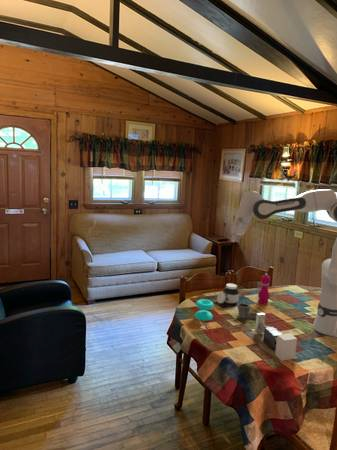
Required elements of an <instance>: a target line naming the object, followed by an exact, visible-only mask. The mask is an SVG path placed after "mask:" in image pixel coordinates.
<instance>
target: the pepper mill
mask: <svg viewBox="0 0 337 450" xmlns="http://www.w3.org/2000/svg"><path fill="white" fill-rule="evenodd" d="M260 280H261V282H260V284H261V288H260V290H259V292H258V294H257V297H258V300H257V302H258V304H260V305H268V304H269V299H270V292H269V286H270V282H271V277H270V275H268V273H267V272H265V273H264V275H262V276H261V277H260Z"/></svg>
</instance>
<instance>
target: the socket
mask: <svg viewBox="0 0 337 450" xmlns="http://www.w3.org/2000/svg"><path fill="white" fill-rule="evenodd" d="M297 343H298V338H297V337H296V336H295V335H293V334H292V333H282V334H281V335H277V343H276V351H275V355H276V356H277V357H278V358H279V359H280V360H281V361H280V362H283V361H288V360H289V359H290V360H296V359H295V354H296V351H297ZM282 360H283V361H282Z"/></svg>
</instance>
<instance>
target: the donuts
mask: <svg viewBox="0 0 337 450" xmlns="http://www.w3.org/2000/svg"><path fill="white" fill-rule="evenodd" d="M214 304H215V303H214V302H213V301H211V300H210V299H204V298H200V299H198V300H197V301H196V302H195V305H196V307H197V308H198V309H199V310H198V311H196V312H195V314H194V317H195V318H196V320H198V321H204V322H205V321H206V322H207V321H211V320H213V317H214V316H213V314H212V313H211V311H209V310H212V309H214V306H215V305H214Z"/></svg>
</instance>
